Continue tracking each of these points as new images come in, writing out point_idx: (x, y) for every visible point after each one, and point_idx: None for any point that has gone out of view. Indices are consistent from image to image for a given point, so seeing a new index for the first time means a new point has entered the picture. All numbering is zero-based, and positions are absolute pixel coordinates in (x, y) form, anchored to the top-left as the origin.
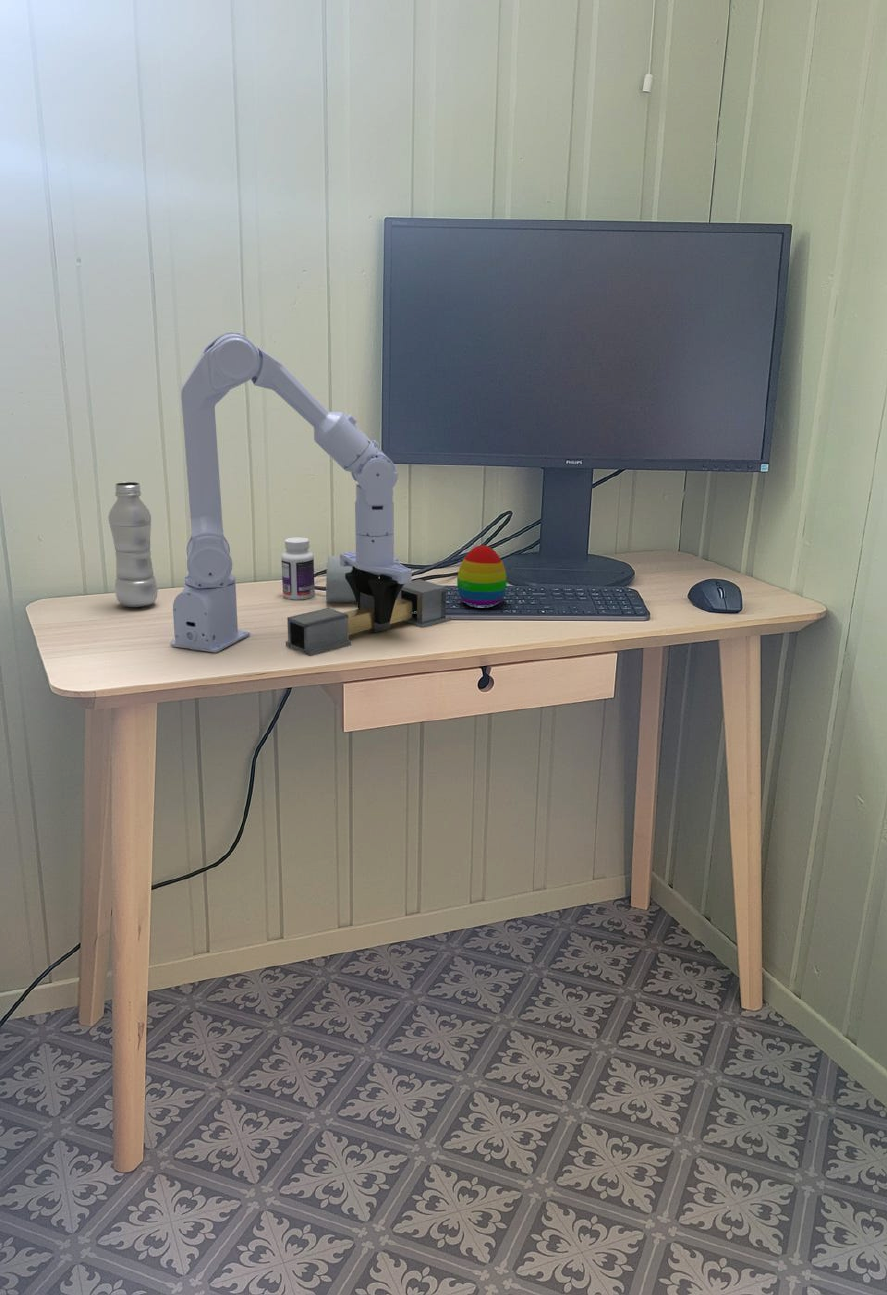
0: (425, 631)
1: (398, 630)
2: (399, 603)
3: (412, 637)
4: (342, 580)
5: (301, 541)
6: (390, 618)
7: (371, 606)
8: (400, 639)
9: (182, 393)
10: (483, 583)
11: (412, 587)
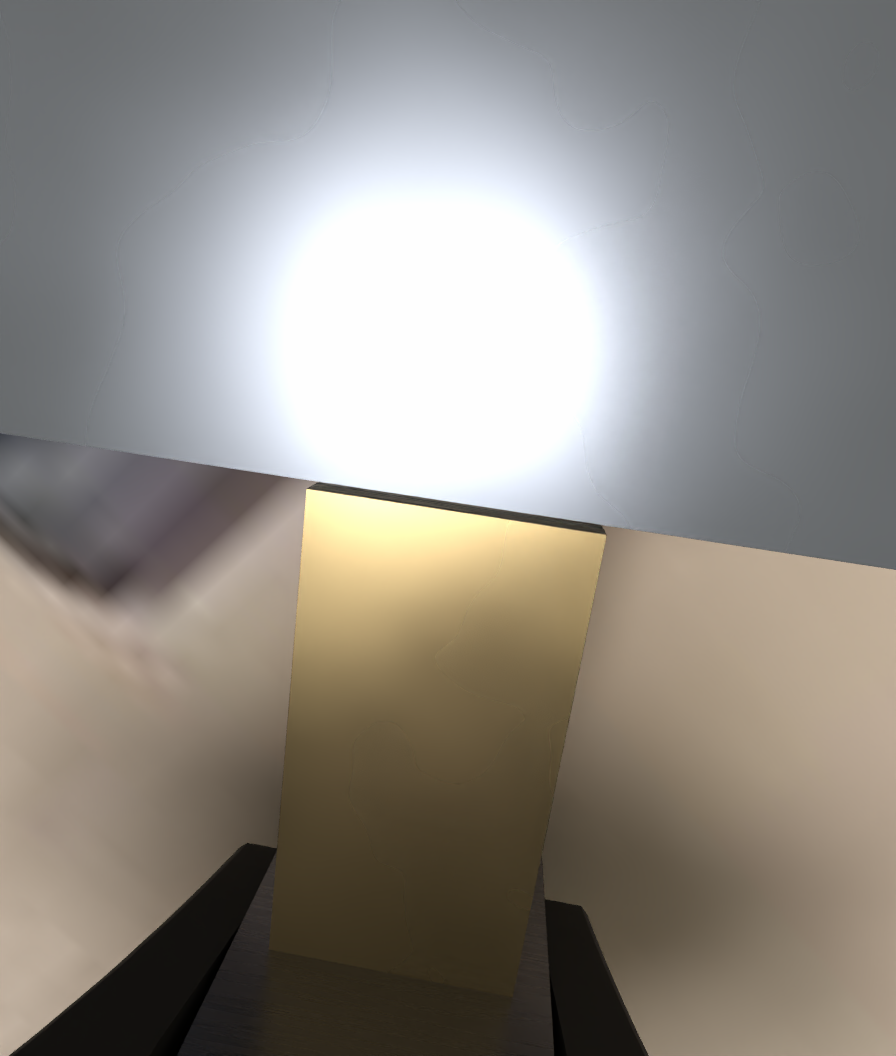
0: (846, 575)
1: (585, 715)
2: (491, 738)
3: (841, 800)
4: None
5: None
6: (595, 943)
7: None
8: (775, 902)
9: None
10: None
11: (428, 340)
